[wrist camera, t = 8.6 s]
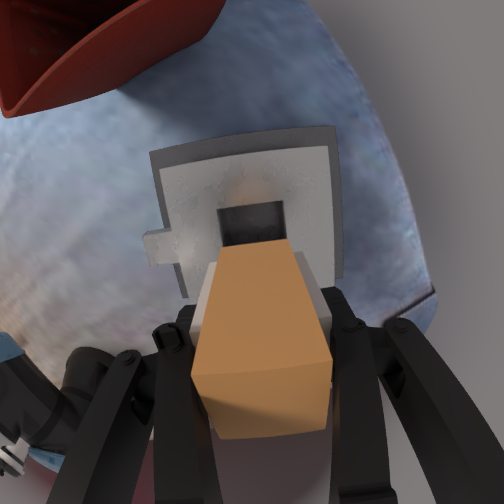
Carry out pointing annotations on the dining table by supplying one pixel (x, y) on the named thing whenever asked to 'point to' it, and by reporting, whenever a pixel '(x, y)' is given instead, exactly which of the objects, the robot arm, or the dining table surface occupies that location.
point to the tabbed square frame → (248, 201)
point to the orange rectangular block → (261, 346)
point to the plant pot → (88, 46)
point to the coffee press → (14, 458)
